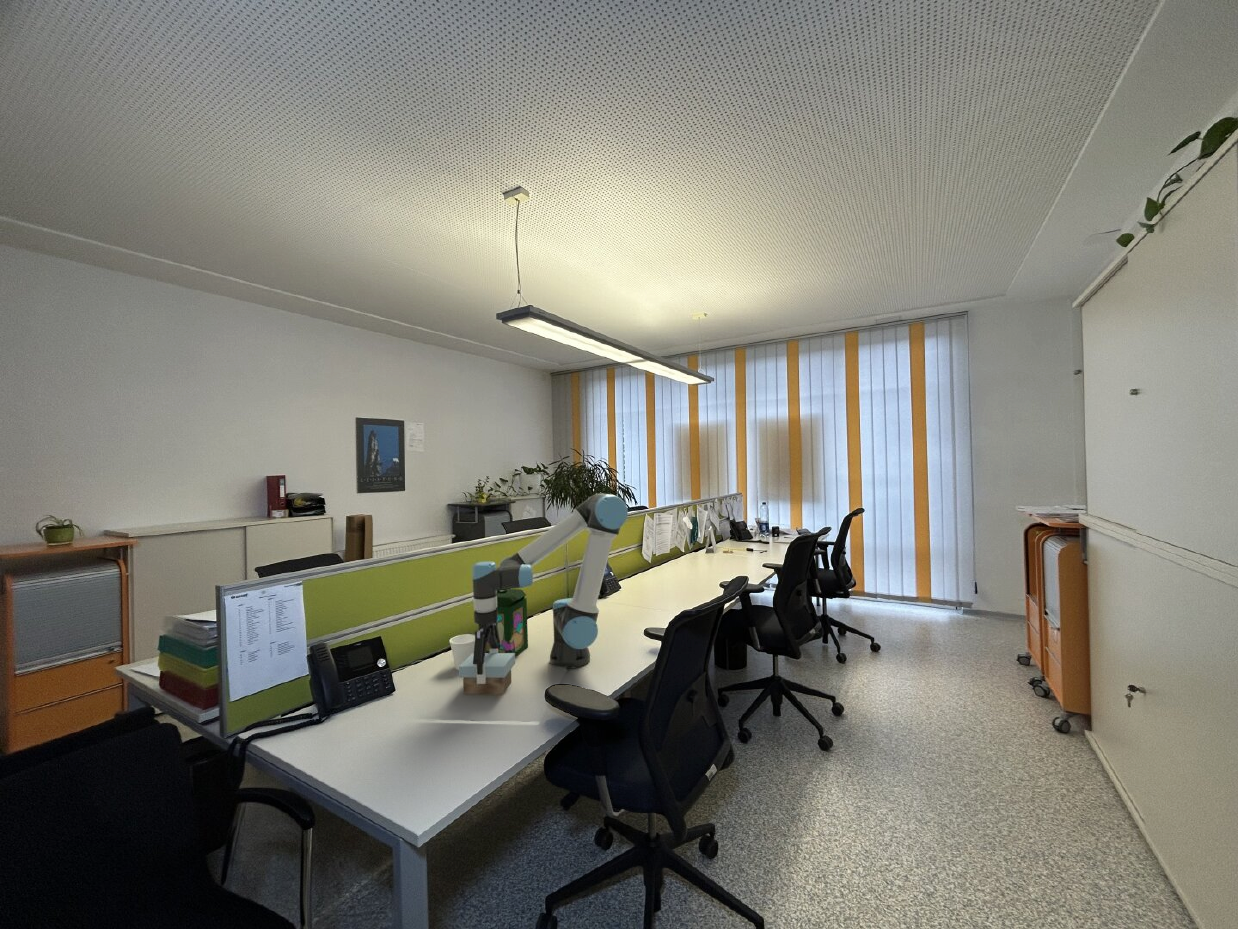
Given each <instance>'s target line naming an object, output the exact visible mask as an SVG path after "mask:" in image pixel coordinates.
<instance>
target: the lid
mask: <svg viewBox="0 0 1238 929" xmlns="http://www.w3.org/2000/svg"><path fill="white" fill-rule="evenodd" d="M473 656H474V653H472V654H471V655H470V656H469V657H468V658H467V659H466V660H465V661H464V662H463V663H462V664H461V665H460V666H459V670H458V675H459V676H458V678H463V677H477V671H476V664H473ZM484 663H485V669H486V677H499V678H505V676H506V675H507V674H508V672H509V671H510V670H511V671H512V669H513V667H514V666H515V664H516V657H515V653H485V658H484Z"/></svg>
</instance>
